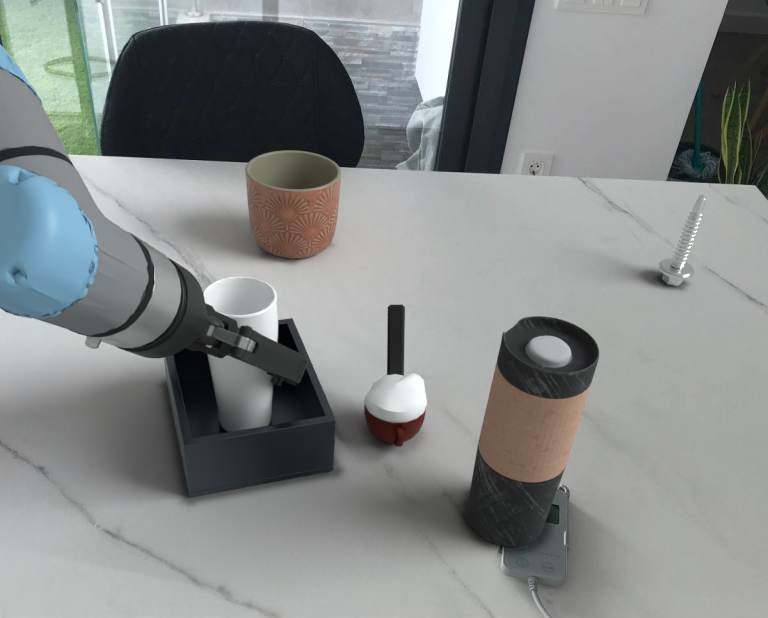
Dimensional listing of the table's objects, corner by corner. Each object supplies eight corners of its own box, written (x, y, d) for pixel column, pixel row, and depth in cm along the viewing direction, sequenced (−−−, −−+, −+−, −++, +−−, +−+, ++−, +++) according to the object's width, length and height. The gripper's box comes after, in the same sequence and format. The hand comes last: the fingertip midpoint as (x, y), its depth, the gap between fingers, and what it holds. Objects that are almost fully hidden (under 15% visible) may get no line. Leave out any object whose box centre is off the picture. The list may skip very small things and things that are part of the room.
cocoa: (410, 466, 76) (424, 370, 68) (350, 450, 77) (356, 353, 69) (434, 407, 83) (448, 314, 75) (378, 393, 84) (387, 300, 76)
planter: (346, 229, 112) (350, 157, 105) (326, 273, 102) (329, 196, 95) (263, 216, 113) (261, 144, 106) (235, 258, 103) (232, 181, 96)
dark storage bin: (167, 384, 82) (160, 334, 78) (292, 366, 86) (292, 317, 82) (189, 497, 70) (183, 445, 66) (333, 470, 75) (336, 419, 70)
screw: (667, 292, 105) (647, 273, 109) (696, 288, 107) (676, 270, 110) (699, 204, 97) (676, 187, 101) (730, 201, 99) (707, 185, 102)
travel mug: (555, 549, 69) (614, 375, 57) (471, 550, 68) (512, 373, 56) (535, 486, 75) (585, 315, 62) (457, 486, 74) (492, 313, 62)
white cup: (221, 450, 75) (211, 323, 65) (203, 407, 79) (192, 281, 70) (288, 434, 77) (288, 309, 68) (267, 393, 82) (264, 270, 72)
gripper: (-10, 298, 58) (140, 351, 80) (254, 401, 53) (338, 429, 74) (29, 206, 59) (167, 284, 80) (295, 299, 53) (366, 356, 75)
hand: (250, 354), depth 77 cm, fingers open, 10 cm apart
